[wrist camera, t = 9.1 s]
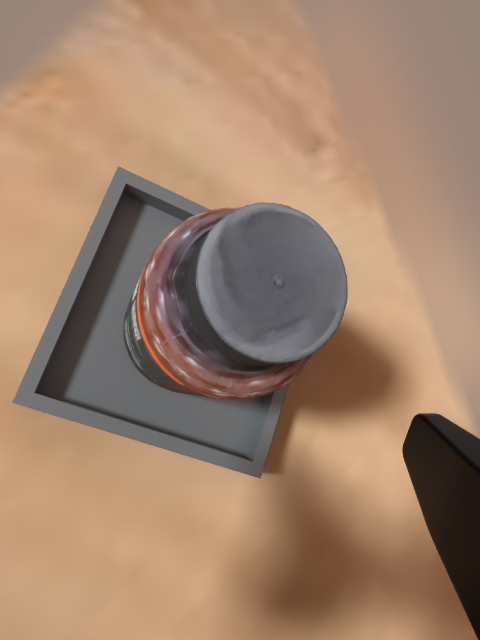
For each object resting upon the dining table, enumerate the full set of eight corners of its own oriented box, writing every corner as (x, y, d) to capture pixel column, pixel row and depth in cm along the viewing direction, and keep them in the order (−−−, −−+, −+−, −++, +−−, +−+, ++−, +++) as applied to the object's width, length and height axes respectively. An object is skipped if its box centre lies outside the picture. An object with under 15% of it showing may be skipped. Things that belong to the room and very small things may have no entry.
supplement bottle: (264, 340, 22) (424, 309, 11) (174, 418, 20) (267, 468, 9) (193, 247, 21) (292, 121, 11) (93, 318, 19) (95, 250, 9)
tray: (247, 470, 21) (260, 478, 20) (19, 400, 19) (12, 402, 17) (308, 271, 24) (324, 263, 22) (116, 183, 21) (118, 166, 19)
